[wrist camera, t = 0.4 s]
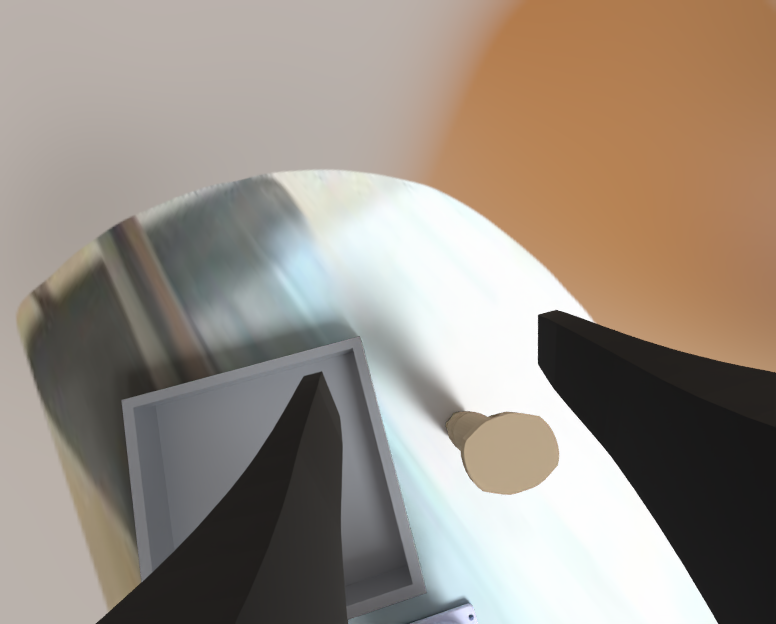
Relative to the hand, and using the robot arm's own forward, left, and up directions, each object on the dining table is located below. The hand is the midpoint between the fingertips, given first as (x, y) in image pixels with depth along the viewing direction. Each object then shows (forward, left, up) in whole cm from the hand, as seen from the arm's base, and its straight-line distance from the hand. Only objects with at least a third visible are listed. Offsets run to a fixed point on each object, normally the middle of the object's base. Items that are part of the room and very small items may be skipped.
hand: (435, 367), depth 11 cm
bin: (-7, +14, -28) cm, 32 cm away
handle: (-7, -6, -28) cm, 29 cm away
